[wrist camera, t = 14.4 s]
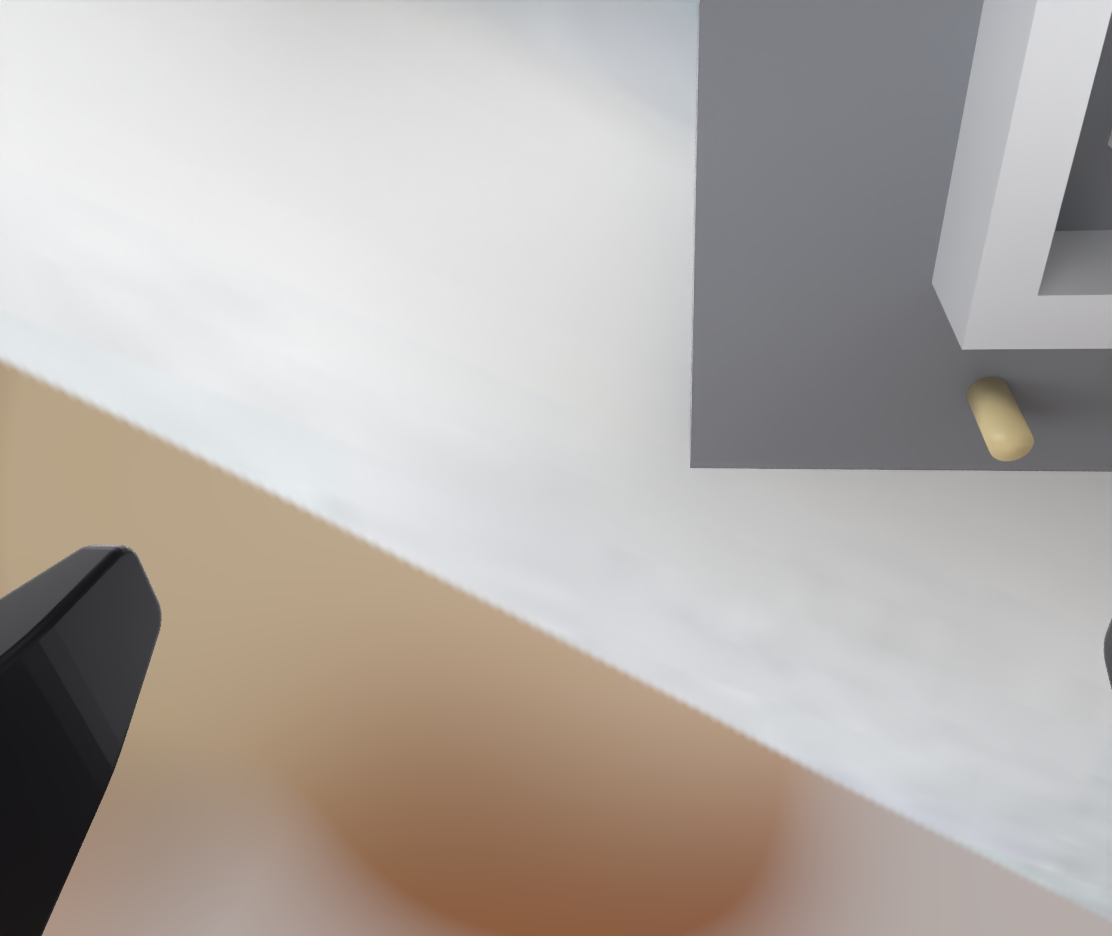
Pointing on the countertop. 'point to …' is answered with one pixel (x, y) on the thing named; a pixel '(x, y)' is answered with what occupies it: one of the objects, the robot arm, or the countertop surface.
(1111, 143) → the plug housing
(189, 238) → the countertop surface
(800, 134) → the header dock
